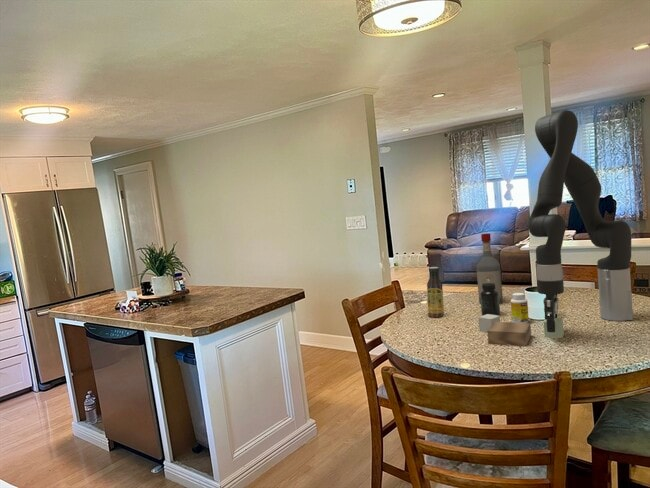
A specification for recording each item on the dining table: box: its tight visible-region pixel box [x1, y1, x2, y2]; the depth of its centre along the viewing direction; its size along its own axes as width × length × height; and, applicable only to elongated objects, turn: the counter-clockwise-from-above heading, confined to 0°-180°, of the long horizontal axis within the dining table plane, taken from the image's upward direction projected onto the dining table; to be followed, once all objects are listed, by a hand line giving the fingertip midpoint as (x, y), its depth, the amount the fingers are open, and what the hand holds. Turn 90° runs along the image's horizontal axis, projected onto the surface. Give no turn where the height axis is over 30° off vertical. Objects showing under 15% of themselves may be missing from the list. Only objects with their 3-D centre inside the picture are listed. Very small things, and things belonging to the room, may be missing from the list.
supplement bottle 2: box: [510, 292, 530, 323], centre depth 159 cm, size 6×6×10 cm
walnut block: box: [486, 321, 532, 346], centre depth 142 cm, size 11×11×4 cm
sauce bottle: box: [426, 266, 445, 318], centre depth 179 cm, size 6×6×20 cm
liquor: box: [476, 232, 504, 305], centre depth 191 cm, size 9×9×30 cm
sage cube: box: [543, 317, 565, 339], centre depth 141 cm, size 5×5×5 cm
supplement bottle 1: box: [480, 283, 501, 316], centre depth 173 cm, size 7×7×12 cm
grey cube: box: [477, 314, 501, 333], centre depth 153 cm, size 5×5×5 cm
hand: (552, 328), depth 141 cm, fingers open, 8 cm apart
